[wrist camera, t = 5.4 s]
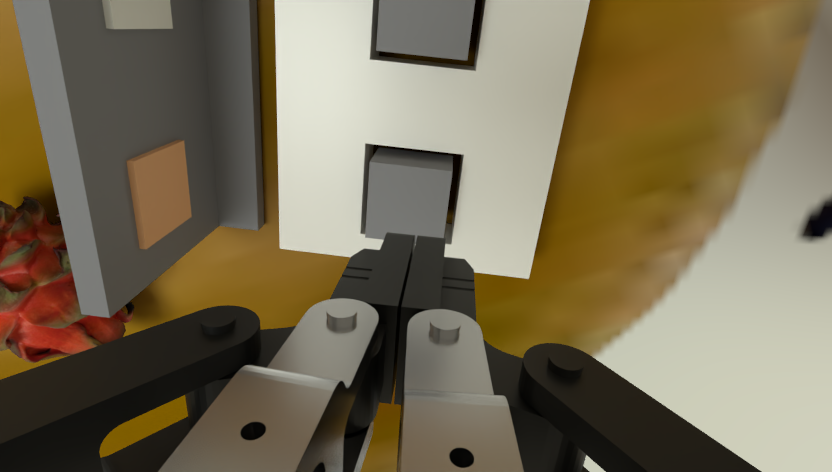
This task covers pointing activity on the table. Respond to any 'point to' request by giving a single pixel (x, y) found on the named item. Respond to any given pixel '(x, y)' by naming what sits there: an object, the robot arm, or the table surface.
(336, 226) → the button board
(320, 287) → the table surface
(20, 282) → the dragon fruit
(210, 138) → the pattern sign
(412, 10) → the button middle
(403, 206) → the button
